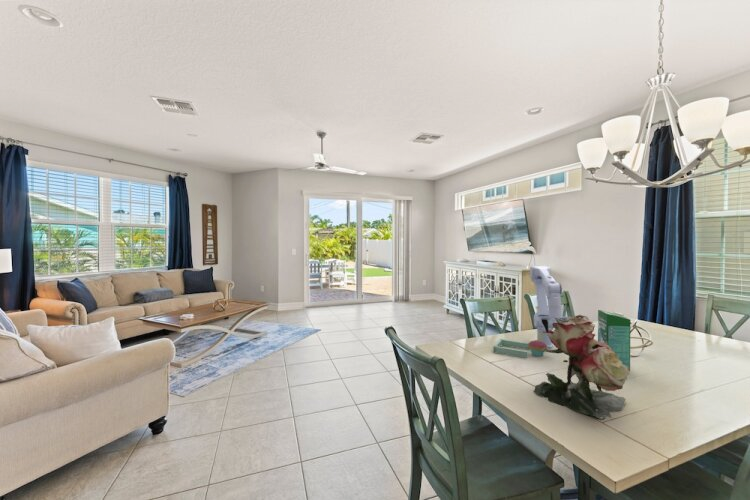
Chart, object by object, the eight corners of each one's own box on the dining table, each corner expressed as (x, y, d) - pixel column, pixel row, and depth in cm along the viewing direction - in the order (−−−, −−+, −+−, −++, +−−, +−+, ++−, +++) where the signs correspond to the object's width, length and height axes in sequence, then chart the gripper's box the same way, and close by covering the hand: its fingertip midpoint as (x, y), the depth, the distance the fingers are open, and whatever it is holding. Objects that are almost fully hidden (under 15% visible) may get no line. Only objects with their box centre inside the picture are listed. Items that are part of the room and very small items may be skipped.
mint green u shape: (500, 344, 182) (500, 339, 182) (532, 349, 174) (532, 343, 174) (493, 352, 170) (493, 346, 170) (527, 358, 161) (527, 352, 161)
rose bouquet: (618, 428, 101) (619, 331, 100) (527, 393, 125) (527, 315, 124) (645, 403, 116) (646, 318, 115) (559, 376, 140) (559, 306, 139)
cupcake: (542, 352, 169) (542, 329, 169) (549, 358, 161) (550, 333, 160) (525, 351, 170) (525, 328, 170) (531, 357, 162) (531, 333, 161)
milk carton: (630, 371, 144) (630, 314, 143) (607, 369, 145) (607, 313, 145) (619, 363, 153) (619, 309, 152) (597, 362, 154) (597, 309, 154)
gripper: (537, 306, 163) (539, 335, 160) (571, 307, 155) (573, 336, 152) (539, 307, 169) (541, 335, 166) (572, 308, 161) (574, 336, 158)
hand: (557, 336), depth 159 cm, fingers open, 7 cm apart
